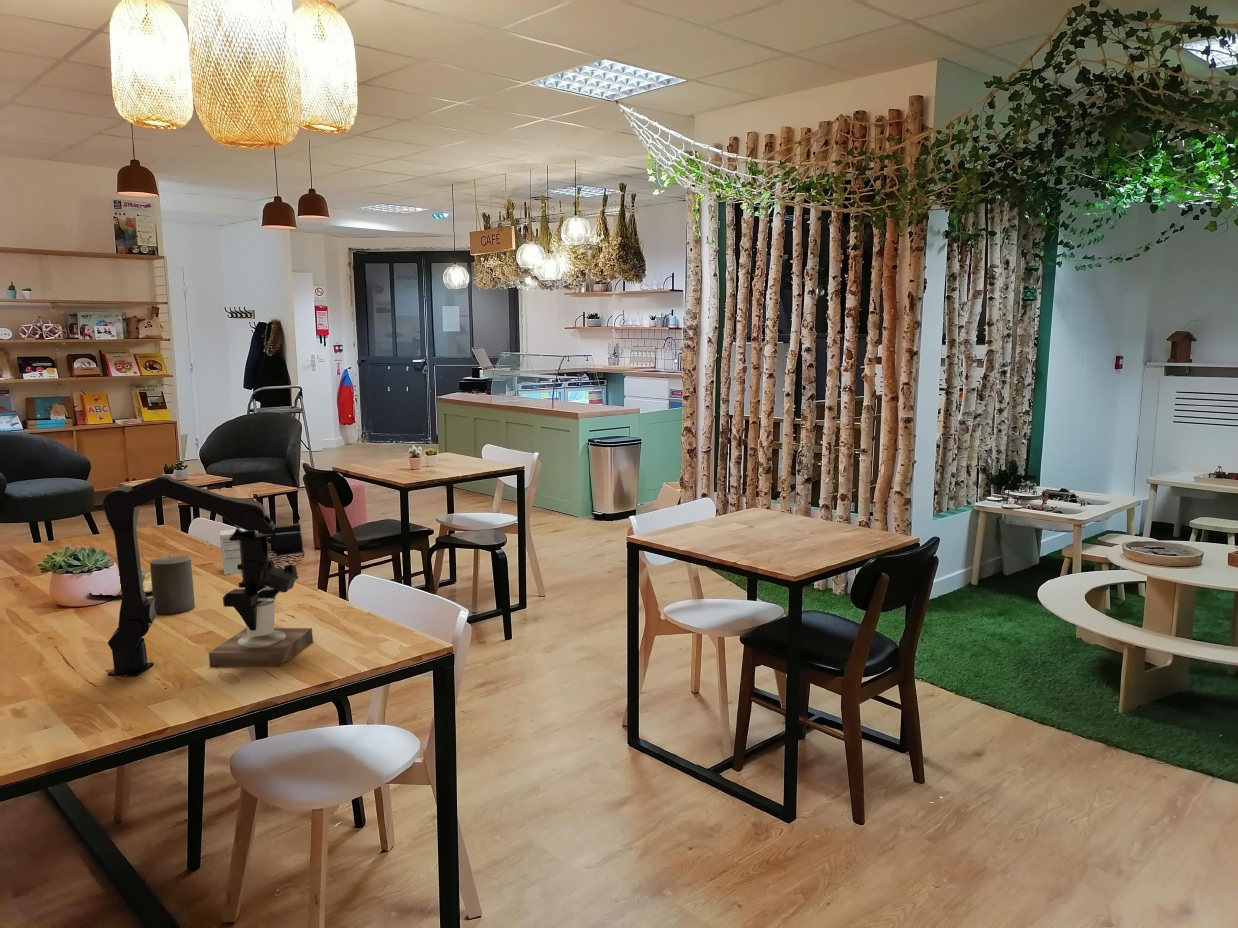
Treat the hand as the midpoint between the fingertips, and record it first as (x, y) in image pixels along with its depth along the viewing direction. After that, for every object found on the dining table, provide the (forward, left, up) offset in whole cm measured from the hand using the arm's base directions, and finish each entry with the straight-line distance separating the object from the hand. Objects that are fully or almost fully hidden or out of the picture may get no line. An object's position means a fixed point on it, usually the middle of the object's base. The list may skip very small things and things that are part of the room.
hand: (260, 625), depth 193 cm
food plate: (+51, +64, -7) cm, 82 cm away
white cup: (0, 0, -2) cm, 2 cm away
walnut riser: (0, 0, -6) cm, 6 cm away
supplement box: (+68, +43, -7) cm, 81 cm away
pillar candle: (+31, +40, -7) cm, 51 cm away
